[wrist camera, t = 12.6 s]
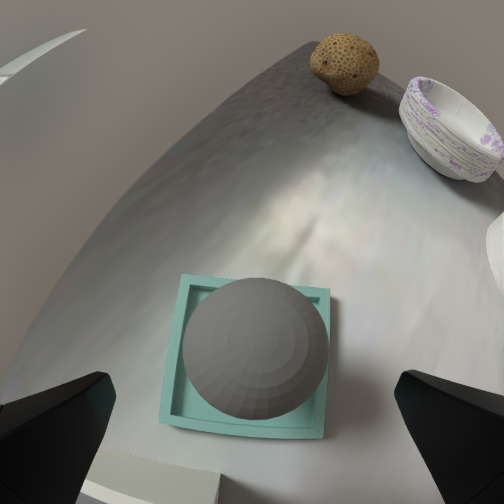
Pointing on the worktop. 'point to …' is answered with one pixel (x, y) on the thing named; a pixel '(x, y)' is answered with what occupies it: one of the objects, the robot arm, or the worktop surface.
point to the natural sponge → (345, 63)
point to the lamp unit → (145, 482)
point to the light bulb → (255, 349)
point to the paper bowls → (450, 131)
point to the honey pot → (496, 250)
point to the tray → (209, 418)
